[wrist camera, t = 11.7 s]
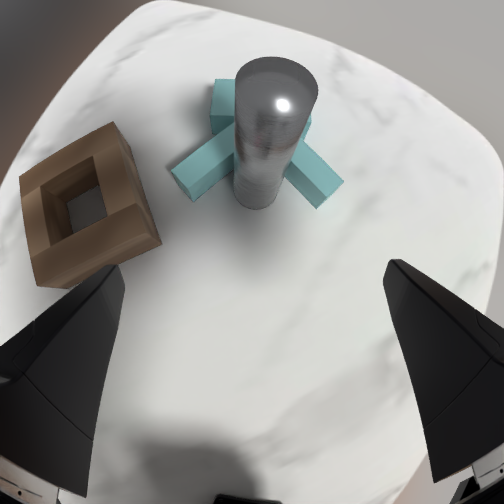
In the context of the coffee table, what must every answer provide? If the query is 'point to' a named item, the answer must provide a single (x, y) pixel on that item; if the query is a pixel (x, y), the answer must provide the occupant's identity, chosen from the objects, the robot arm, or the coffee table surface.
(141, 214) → the brown square frame
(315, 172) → the teal y-shaped block
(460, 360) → the robot arm
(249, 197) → the axle
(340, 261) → the coffee table surface
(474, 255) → the coffee table surface
